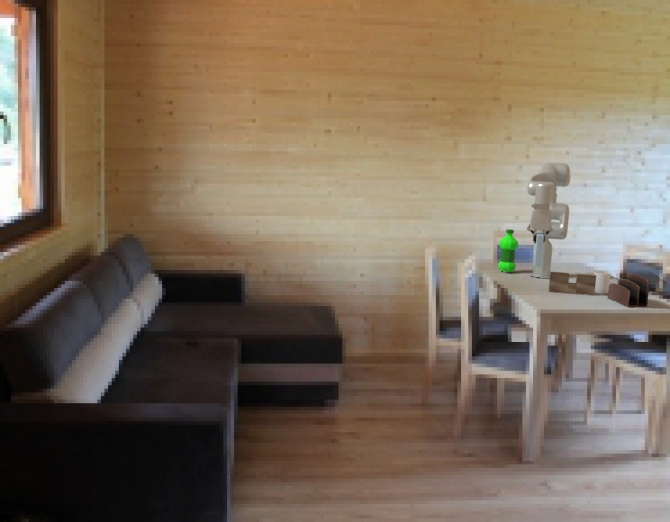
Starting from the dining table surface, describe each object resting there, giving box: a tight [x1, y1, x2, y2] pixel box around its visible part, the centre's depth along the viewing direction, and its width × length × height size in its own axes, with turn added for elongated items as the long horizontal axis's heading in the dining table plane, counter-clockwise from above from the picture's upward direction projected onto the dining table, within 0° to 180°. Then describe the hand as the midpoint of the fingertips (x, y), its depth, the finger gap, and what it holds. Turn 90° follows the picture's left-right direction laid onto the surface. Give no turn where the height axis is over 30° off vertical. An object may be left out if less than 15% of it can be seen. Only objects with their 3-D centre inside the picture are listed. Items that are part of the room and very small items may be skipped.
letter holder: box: [607, 272, 650, 308], centre depth 339 cm, size 10×20×14 cm, turn 6°
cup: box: [592, 270, 611, 294], centre depth 365 cm, size 8×12×10 cm
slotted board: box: [548, 271, 596, 296], centre depth 357 cm, size 3×22×10 cm, turn 79°
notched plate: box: [532, 232, 544, 267], centre depth 360 cm, size 14×3×16 cm, turn 169°
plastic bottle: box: [498, 228, 519, 273], centre depth 408 cm, size 10×10×25 cm
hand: (538, 242), depth 360 cm, fingers closed on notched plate, 3 cm apart
